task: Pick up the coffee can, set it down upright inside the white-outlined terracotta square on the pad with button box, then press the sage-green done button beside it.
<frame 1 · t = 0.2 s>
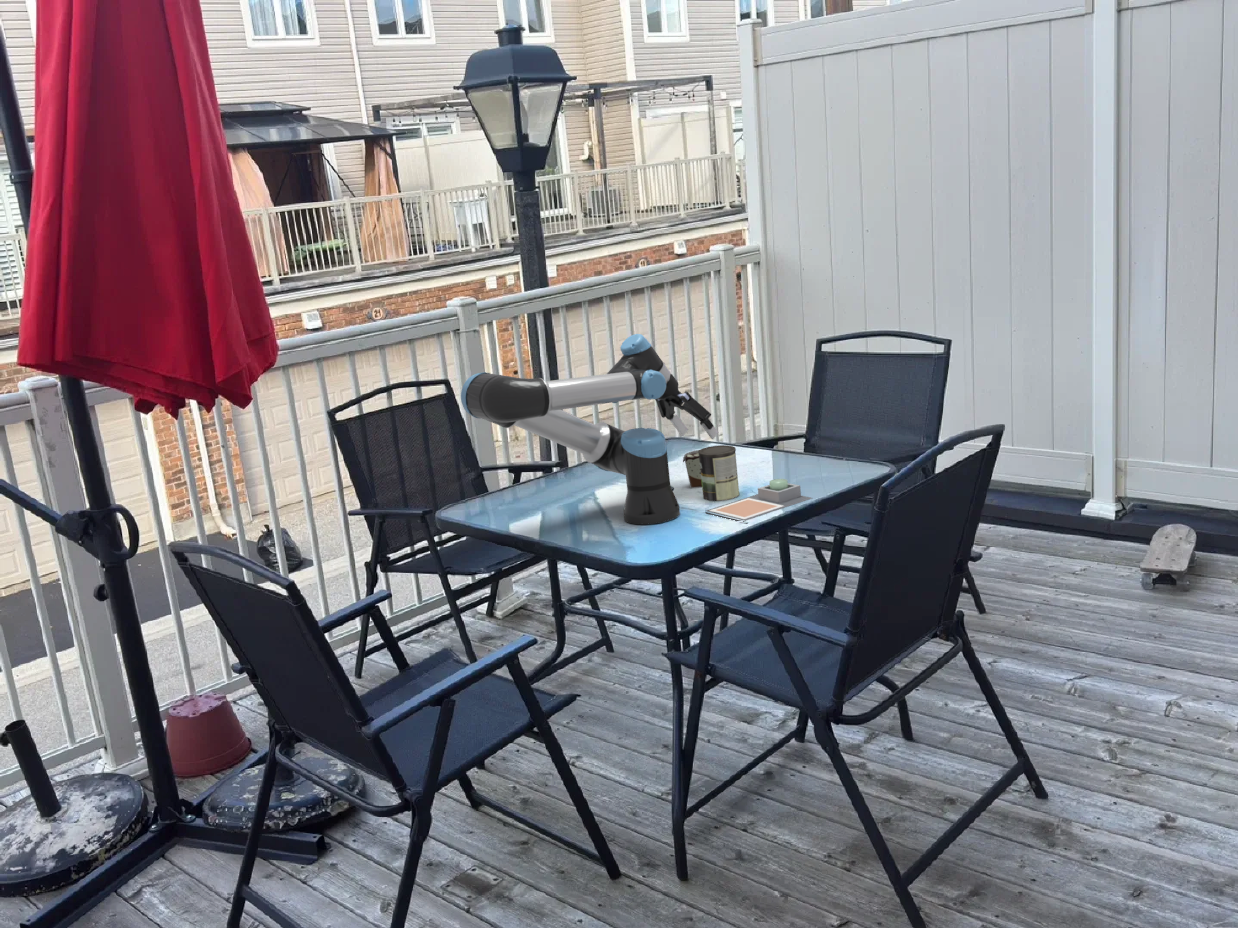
hand: (699, 434, 314), 15 cm above the table, tool tilted 35°, fingers open, 13 cm apart
food container: (707, 484, 319), on the table
coffee can: (721, 499, 302), on the table
done button: (778, 487, 292), point 4 cm above the table, slide at 0.0 cm
pad with button box: (759, 507, 289), on the table
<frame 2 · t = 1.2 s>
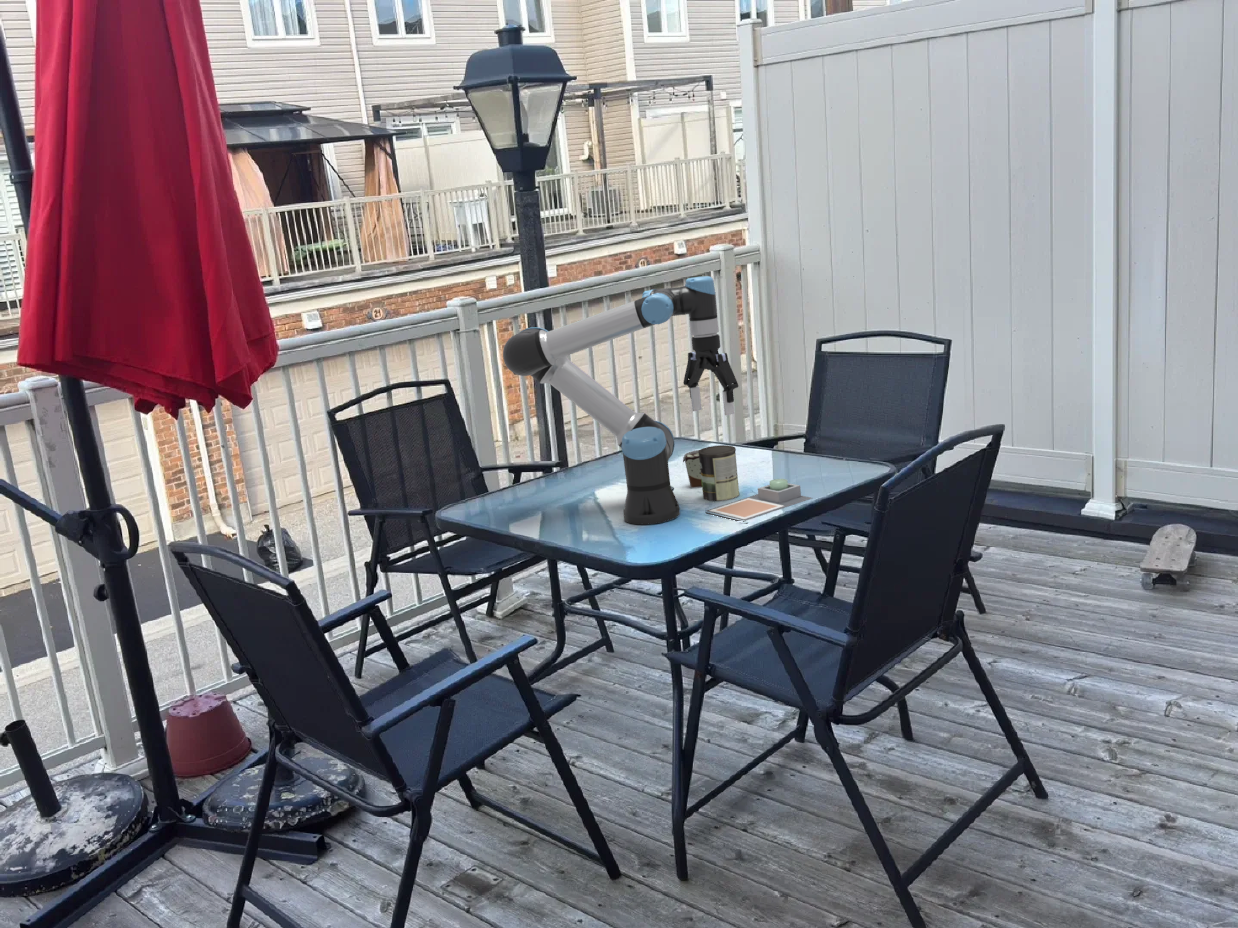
hand: (713, 412, 296), 24 cm above the table, tool pointing down, fingers open, 13 cm apart
nothing on the table moved.
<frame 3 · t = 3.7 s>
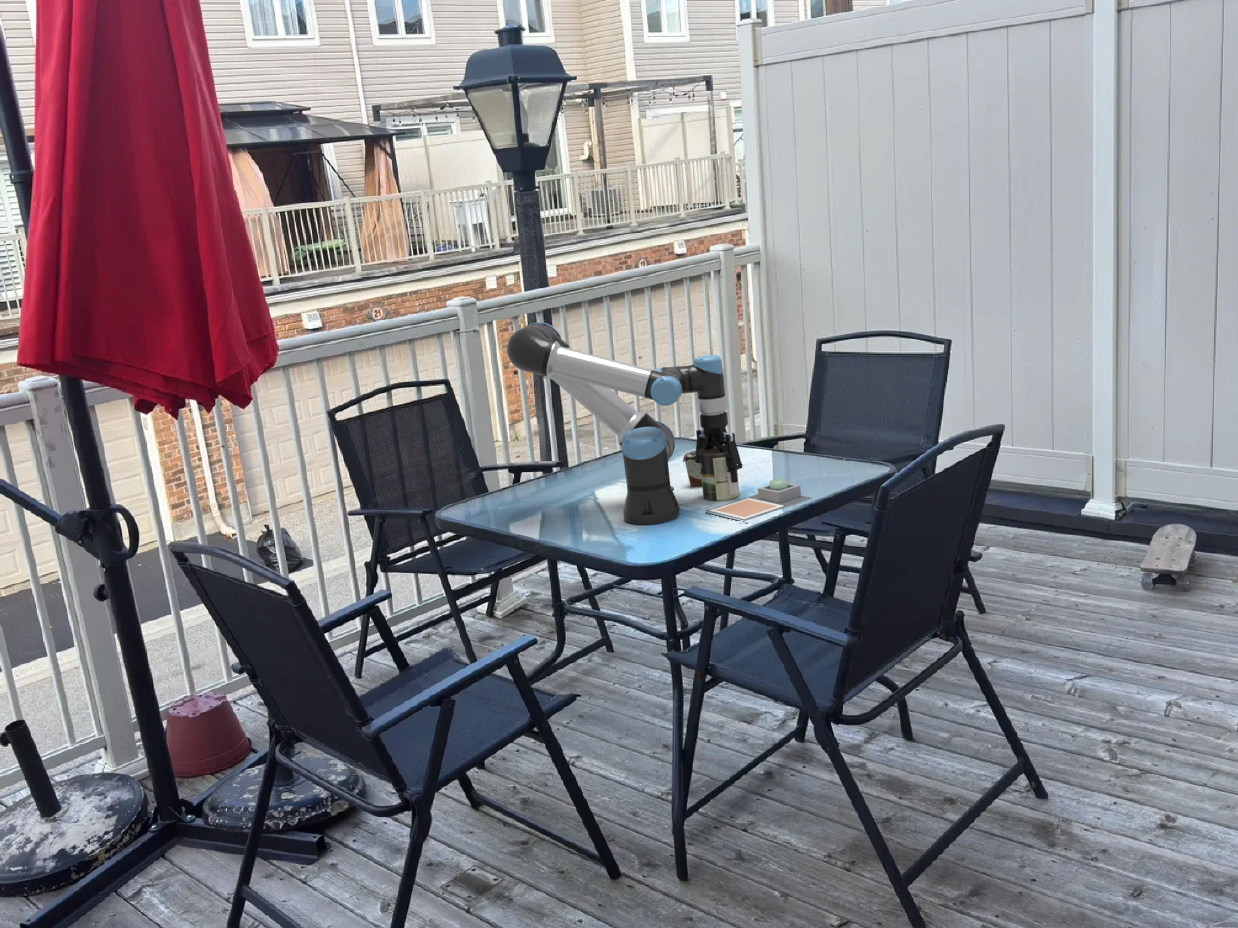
hand: (720, 490, 301), 2 cm above the table, tool pointing down, fingers closed on coffee can, 10 cm apart
coffee can: (721, 499, 302), on the table, touching gripper
everything else where it was.
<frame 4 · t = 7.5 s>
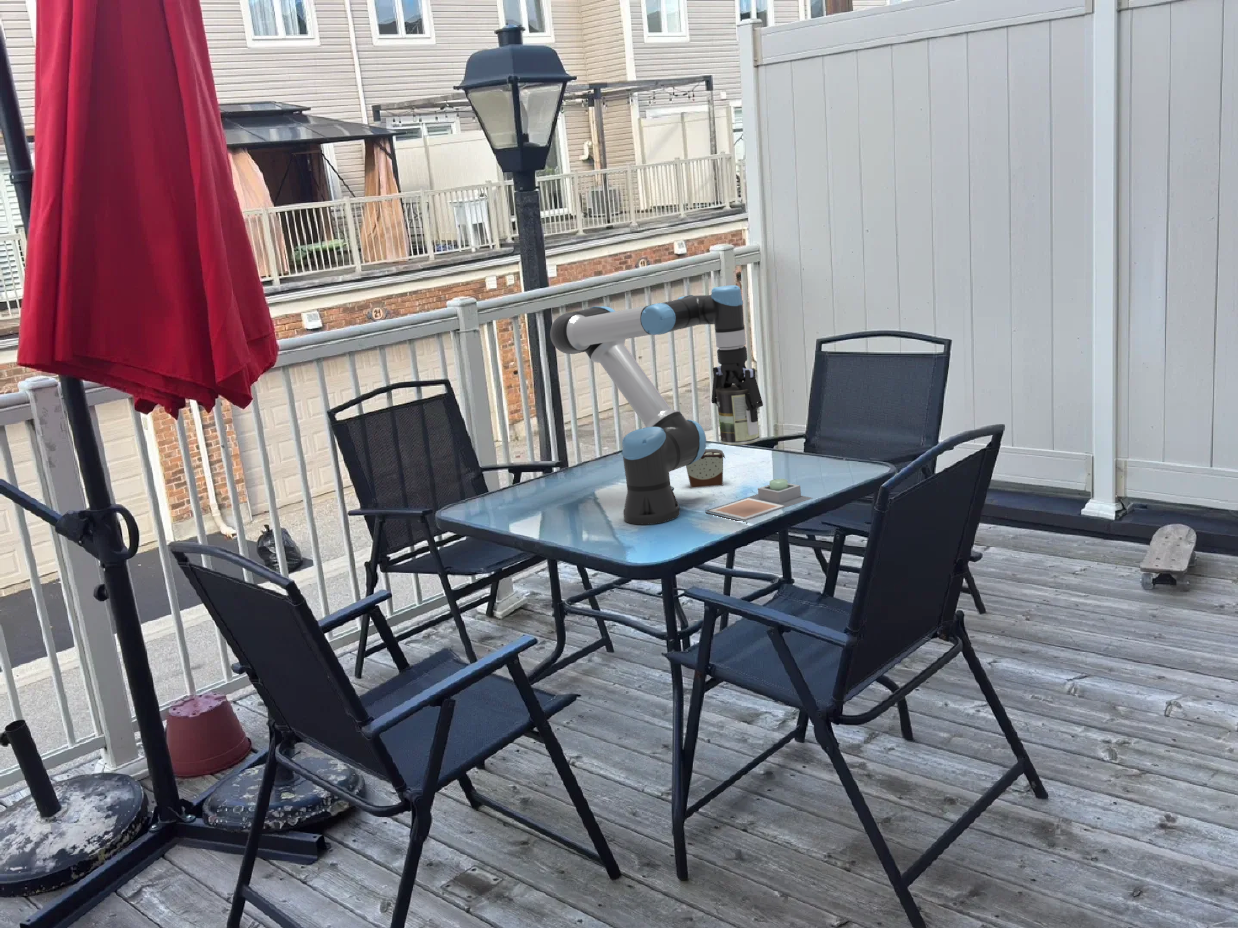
hand: (739, 432, 282), 21 cm above the table, tool pointing down, fingers closed on coffee can, 10 cm apart
coffee can: (740, 441, 282), point 19 cm above the table, touching gripper
everything else where it was.
when the fingers open (4 cm above the table, at t = 11.2 s): coffee can stays where it is, resting on pad with button box.
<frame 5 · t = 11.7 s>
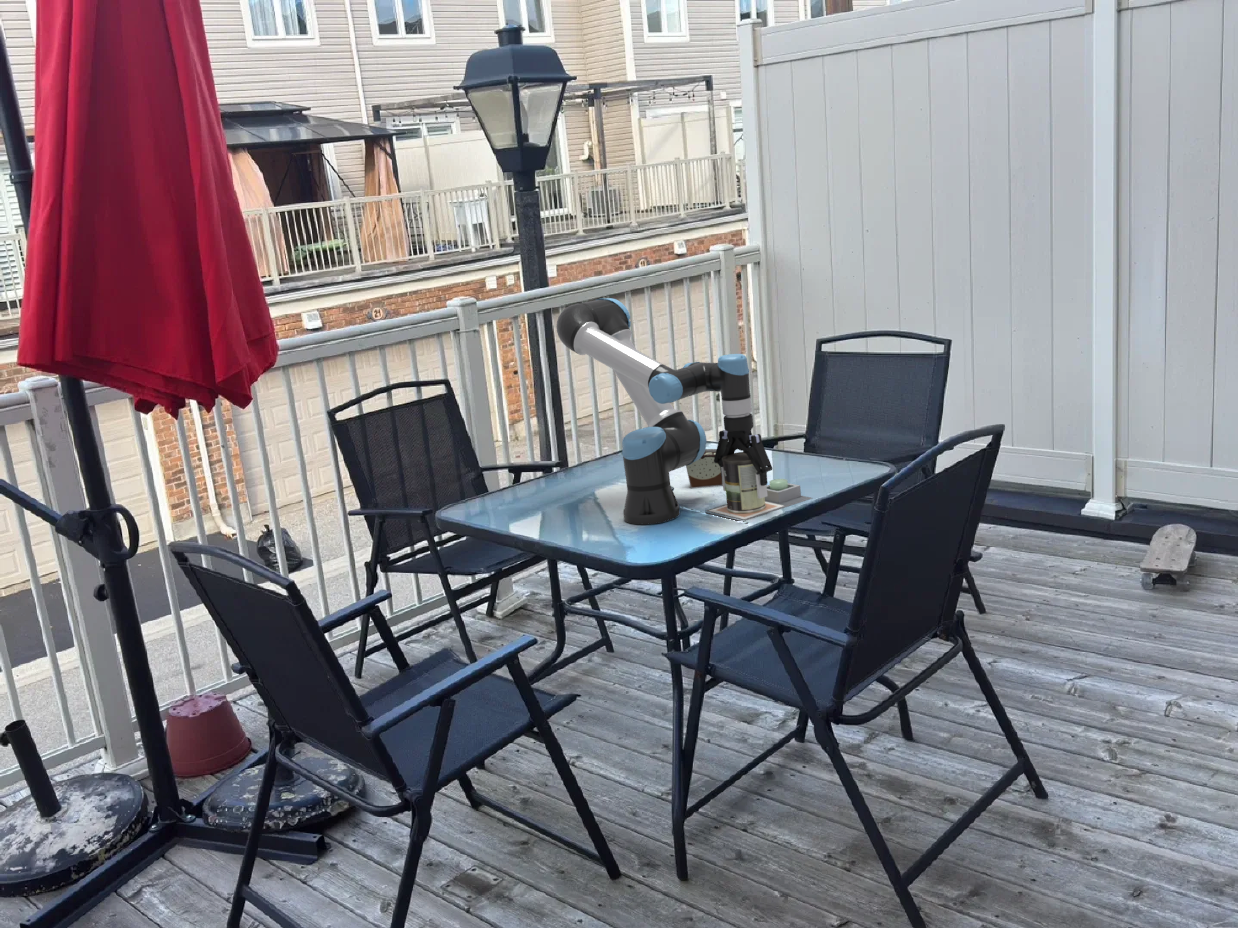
hand: (745, 493, 285), 5 cm above the table, tool pointing down, fingers open, 13 cm apart
coffee can: (746, 508, 286), point 1 cm above the table, touching pad with button box
everything else where it was.
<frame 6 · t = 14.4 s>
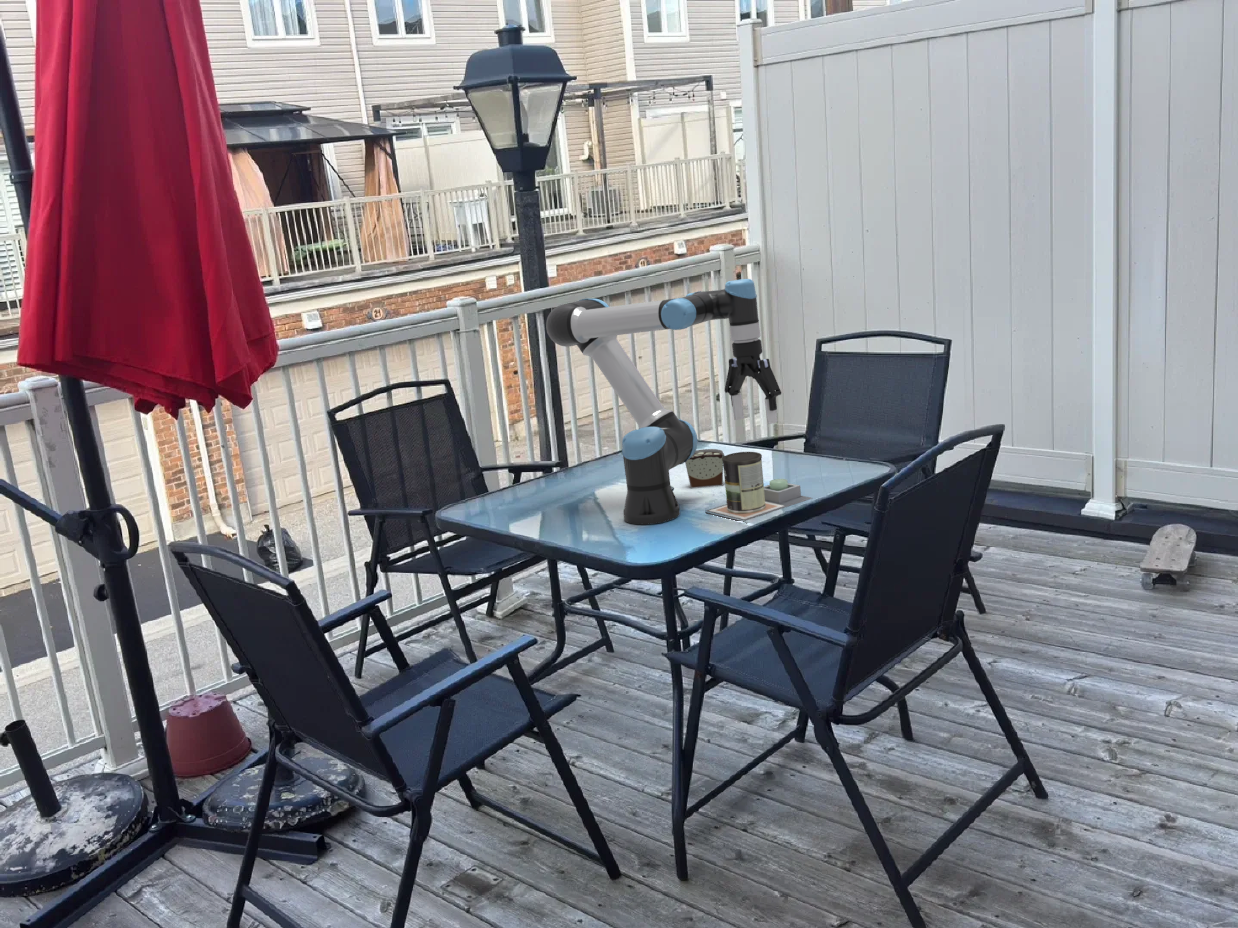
hand: (755, 421, 283), 23 cm above the table, tool pointing down, fingers open, 13 cm apart
nothing on the table moved.
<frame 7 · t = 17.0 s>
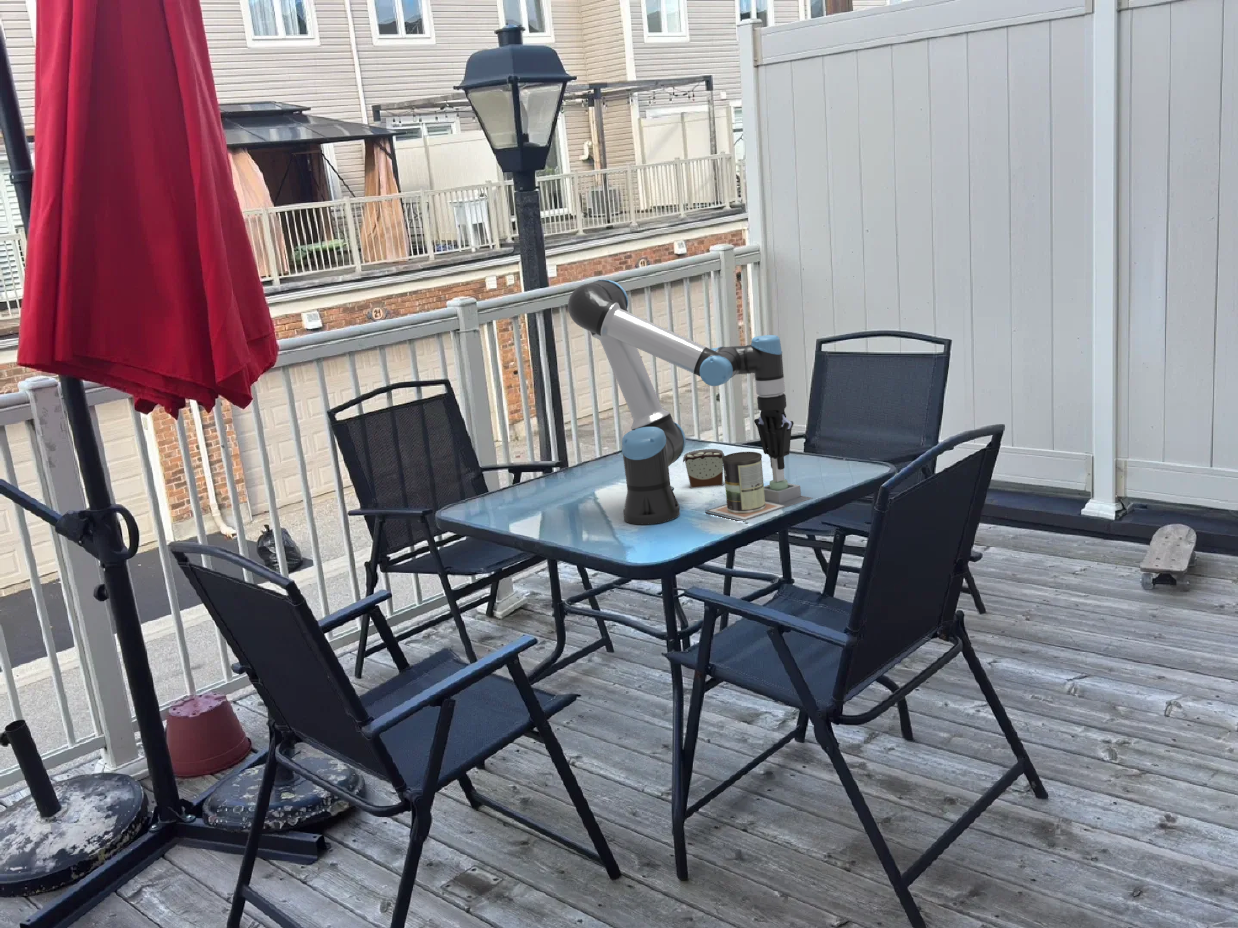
hand: (779, 480, 292), 6 cm above the table, tool pointing down, fingers closed
done button: (778, 487, 292), point 4 cm above the table, slide at -0.1 cm, touching gripper
everything else where it was.
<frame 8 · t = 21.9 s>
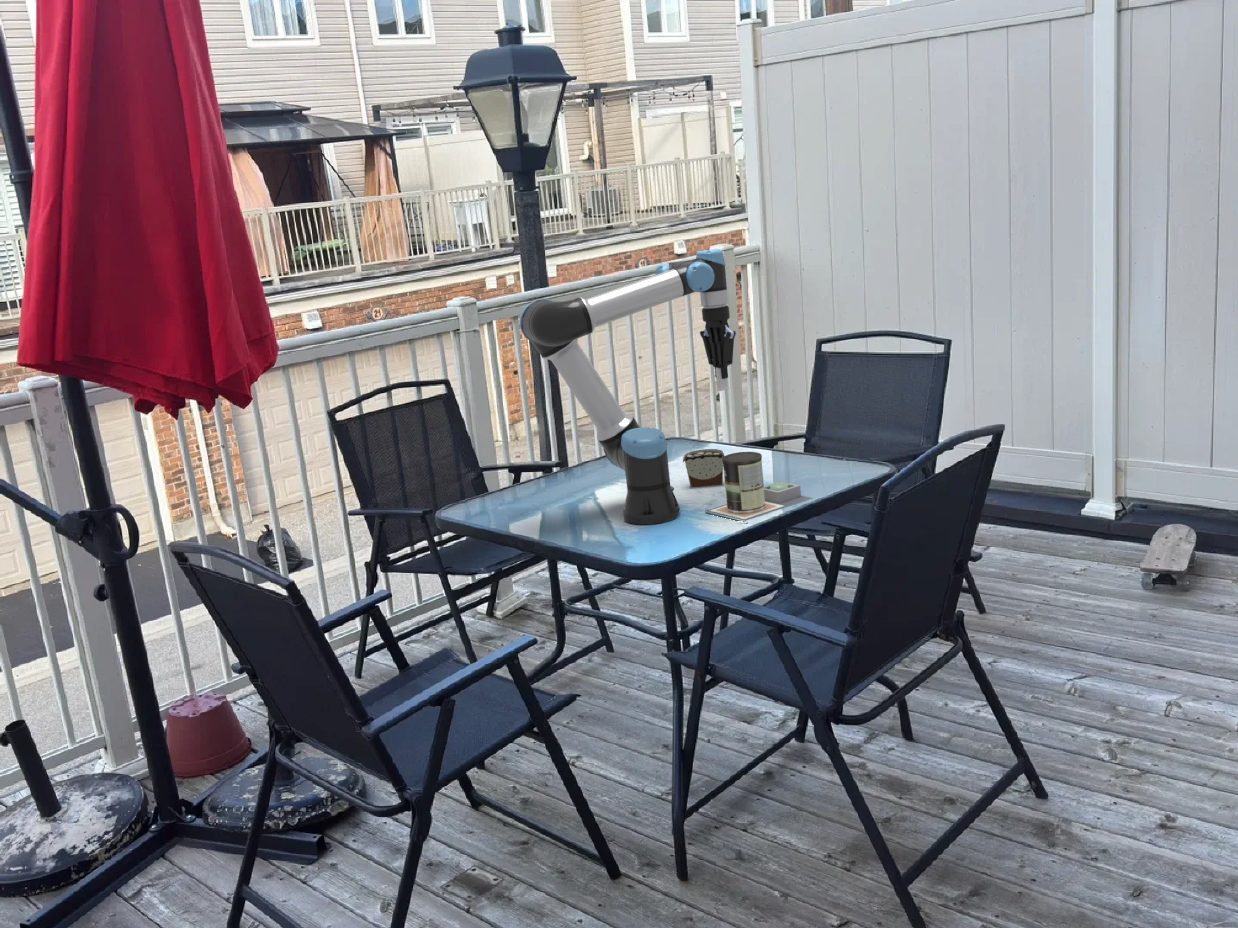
hand: (723, 389, 306), 28 cm above the table, tool pointing down, fingers closed
done button: (779, 491, 292), point 2 cm above the table, slide at -1.2 cm, touching pad with button box
everything else where it was.
at the end: coffee can 0.1 cm from the target spot on the pad with button box, point 0.7 cm above the pad with button box's base; coffee can tilted 0°; done button slide at -1.2 cm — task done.
